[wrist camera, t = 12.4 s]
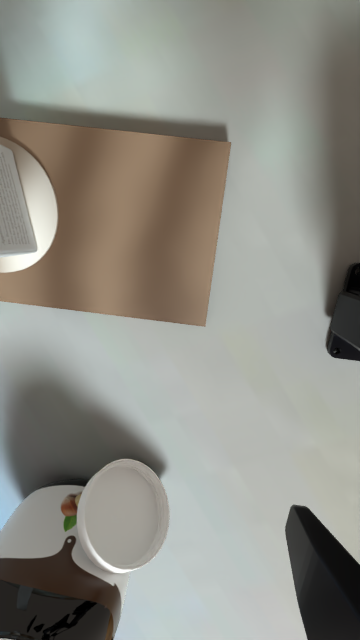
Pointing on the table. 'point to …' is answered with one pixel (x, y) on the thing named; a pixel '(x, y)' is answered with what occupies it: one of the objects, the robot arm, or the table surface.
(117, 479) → the spread jar
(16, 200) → the skincare box
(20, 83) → the table surface
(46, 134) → the walnut board
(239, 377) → the table surface
